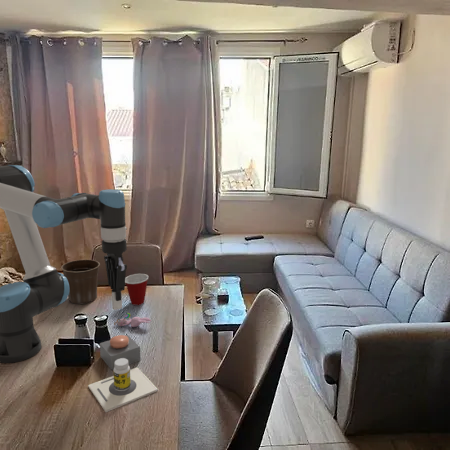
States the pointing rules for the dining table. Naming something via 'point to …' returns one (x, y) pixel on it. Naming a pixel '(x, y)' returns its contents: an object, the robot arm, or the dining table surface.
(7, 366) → the dining table surface
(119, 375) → the supplement bottle
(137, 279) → the plastic cup
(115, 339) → the button
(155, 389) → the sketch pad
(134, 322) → the pink unicorn toy
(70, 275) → the plant pot
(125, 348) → the button housing
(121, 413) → the dining table surface
